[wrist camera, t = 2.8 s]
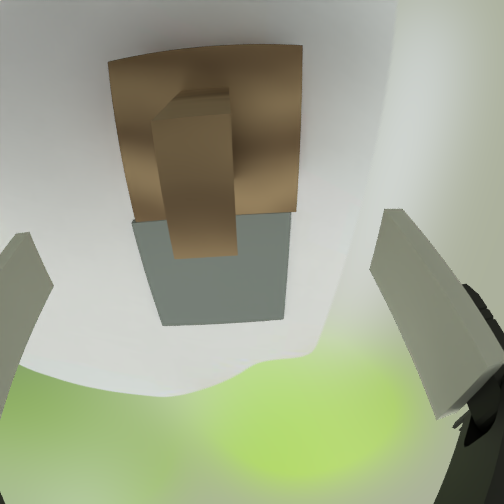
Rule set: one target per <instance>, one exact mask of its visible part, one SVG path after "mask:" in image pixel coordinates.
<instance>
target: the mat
mask: <svg viewBox="0 0 504 504" xmlns="http://www.w3.org/2000/svg"><path fill="white" fill-rule="evenodd" d="M290 222H291V212H281V213H260V214H242V215H236V231H237V249H238V255H237V256H220V257H204V258H188V259H174V255H173V250H172V245H171V240H170V235H169V230H168V225H167V220H156V221H145V222H136V221H135V220H133V221H132V227H133V231H134V234H135V238H136V242H137V245H138V249H139V253H140V256H141V260H142V263H143V266H144V270H145V273H146V276H147V280H148V283H149V286H150V289H151V292H152V296H153V299H154V302H155V305H156V308H157V311H158V314H159V317H160V320H161V322H162V325H163V326H180V325H206V324H225V323H242V322H256V321H269V320H281V319H283V318H284V307H285V294H286V281H287V268H288V254H289V238H290Z"/></svg>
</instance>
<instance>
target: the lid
mask: <svg viewBox="0 0 504 504" xmlns="http://www.w3.org/2000/svg"><path fill="white" fill-rule="evenodd" d="M302 51H303V45H282V44H242V45H220V46H206V47H195V48H185V49H177V50H169V51H162V52H156V53H150V54H144V55H138V56H133V57H128V58H123V59H118V60H114V61H110V62H108V69H109V78H110V86H111V94H112V102H113V109H114V115H115V122H116V128H117V134H118V140H119V146H120V151H121V156H122V162H123V167H124V172H125V177H126V181H127V186H128V191H129V195H130V200H131V204H132V208H133V212H134V217H135V221H136V222H145V221H156V220H167V225H168V230H169V235H170V240H171V245H172V250H173V255H174V259H188V258H204V257H220V256H237V255H238V249H237V231H236V215H242V214H260V213H281V212H296V207H297V191H298V174H299V154H300V131H301V102H302Z"/></svg>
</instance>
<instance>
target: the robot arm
mask: <svg viewBox="0 0 504 504" xmlns="http://www.w3.org/2000/svg"><path fill="white" fill-rule="evenodd" d="M370 271H371V273H372V275H373V277H374V279H375V281H376V283H377V285H378V287H379V289H380V291H381V293H382V295H383V297H384V299H385V301H386V303H387V305H388V307H389V309H390V311H391V313H392V315H393V318H394V320H395V322H396V324H397V326H398V328H399V330H400V333H401V335H402V337H403V339H404V341H405V344H406V346H407V348H408V350H409V353H410V355H411V357H412V359H413V362H414V364H415V367H416V369H417V371H418V374H419V376H420V379H421V381H422V384H423V386H424V389H425V391H426V394H427V396H428V399H429V401H430V404H431V407H432V409H433V412H434V415H435V417H436V420H438V419H441V418H444V417H446V416H449V415H451V414H454V413H456V412H457V411H459V410H460V409H461V408H462V407H463V406H464V405H465V404H466V403H467V404H468V407H469V410H468V411H467V412H466V413H465V414H464V415H463V416H462V417H460V418H459V419H458V420H457V421H456V422H455V424H454V425H453V428H454V429H455V428H457V427H458V426H459V425H460V424H461V423H463V425H462V427H461V428H460V429H459V430H460V431H461V432H460V435H459V438H458V441H457V445H456V448H455V451H454V454H453V456H452V459H451V462H450V465H449V468H448V470H447V473H446V475H445V478H444V480H443V483H442V485H441V488H440V490H439V493H438V495H437V497H436V499H435V502H434V504H504V333H503V331H502V329H501V328H500V326H499V325H498V323H497V321H496V320H495V319H493V315H492V314H491V312H490V311H489V310H488V309H487V306H486V305H485V303H484V302H483V300H482V299H481V297H480V296H479V294H478V293H476V292H475V291H474V290H473V289H472V288H471V287H470V286H468V285H467V284H461V283H460V281H459V280H458V279H457V277H456V276H455V275H454V273H453V272H452V270H451V269H450V268H449V266H448V265H447V264H446V262H445V261H444V260H443V258H442V257H441V256H440V254H439V253H438V252H437V250H436V249H435V248H434V247H433V245H432V244H431V243H430V241H429V240H428V239H427V238H426V237H425V235H424V234H423V233H422V232H421V230H420V229H419V228H418V227H417V226H416V224H415V223H414V222H413V221H412V220H411V218H410V217H409V216H408V215H407V214H406V213H405V211H404V210H403V209H384V213H383V217H382V222H381V226H380V230H379V234H378V239H377V243H376V247H375V251H374V254H373V258H372V262H371V266H370ZM53 287H54V285H53V283H52V281H51V279H50V277H49V275H48V273H47V271H46V269H45V267H44V265H43V262H42V260H41V258H40V256H39V254H38V251H37V249H36V247H35V244H34V242H33V240H32V237H31V235H30V232H25V233H18V234H16V235H15V236H14V237H13V238H12V240H11V241H10V242H9V243H8V245H7V246H6V247H5V249H4V250H3V251H2V253H1V254H0V418H1V415H2V412H3V408H4V405H5V402H6V399H7V395H8V392H9V389H10V387H11V383H12V380H13V378H14V375H15V372H16V370H17V367H18V364H19V362H20V359H21V357H22V354H23V352H24V349H25V347H26V344H27V342H28V340H29V337H30V335H31V333H32V330H33V328H34V326H35V324H36V322H37V319H38V317H39V315H40V313H41V311H42V309H43V307H44V305H45V303H46V300H47V298H48V296H49V294H50V292H51V290H52V289H53ZM0 504H5V502H4V500H3V497H2V495H1V493H0Z"/></svg>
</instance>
